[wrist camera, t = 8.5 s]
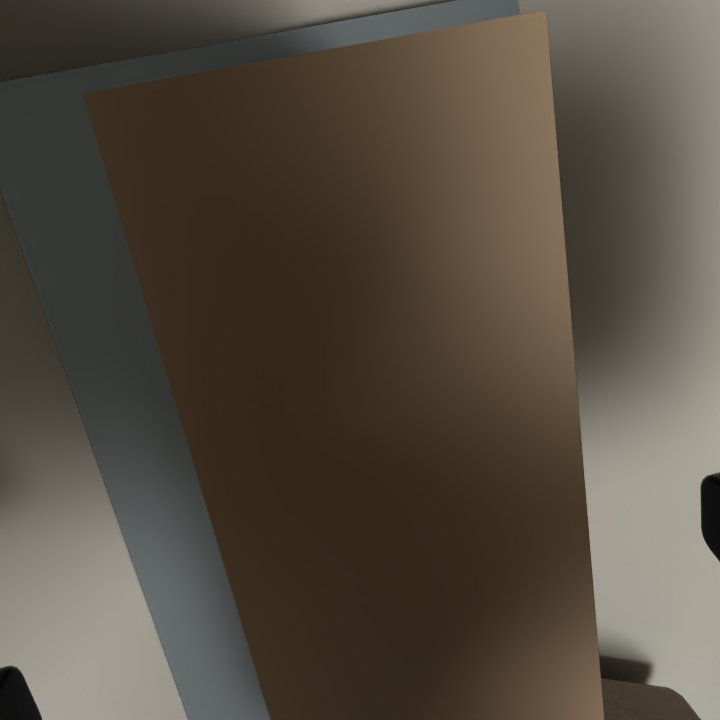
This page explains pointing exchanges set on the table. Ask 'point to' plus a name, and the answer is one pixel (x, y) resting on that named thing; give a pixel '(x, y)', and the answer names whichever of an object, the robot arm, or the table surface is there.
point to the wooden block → (643, 702)
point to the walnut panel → (375, 365)
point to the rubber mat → (148, 335)
